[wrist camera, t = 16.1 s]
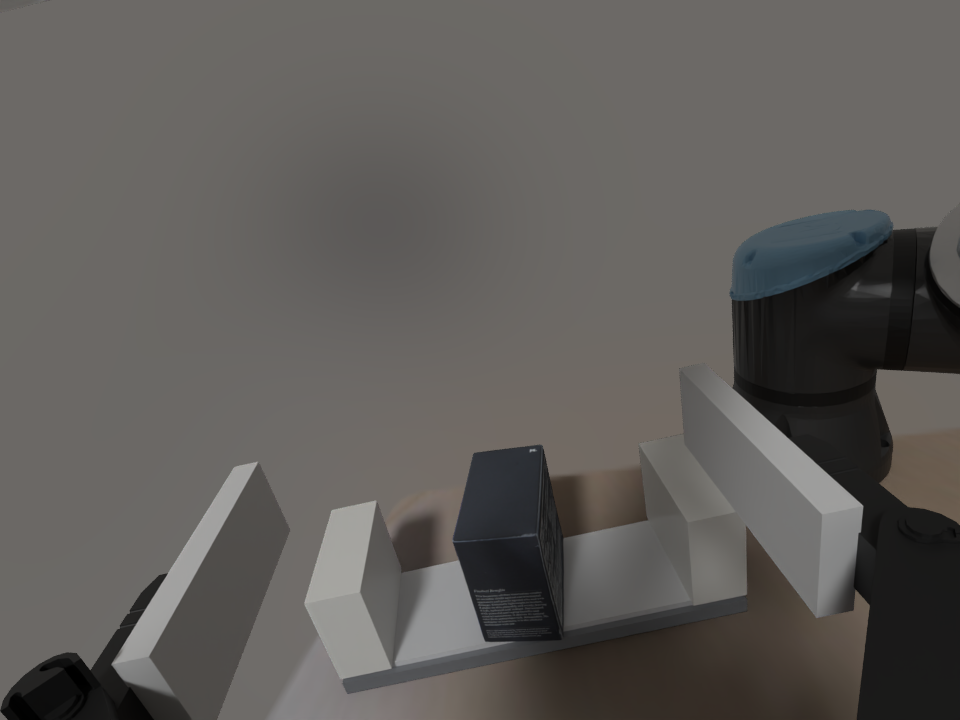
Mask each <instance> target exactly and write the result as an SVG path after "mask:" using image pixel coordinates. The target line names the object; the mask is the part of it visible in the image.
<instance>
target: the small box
mask: <svg viewBox="0 0 960 720" xmlns="http://www.w3.org/2000/svg"><path fill="white" fill-rule="evenodd" d="M452 541H453V544H454V547H455V550H456V553H457V556H458V559H459V562H460V566H461V569H462V571H463V575H464V578H465V581H466V584H467V587H468V590H469V593H470V597H471V600H472V603H473V606H474V609H475V612H476V615H477V618H478V622H479V625H480V628H481V632H482V635H483V638H484V640H485V642H520V641H558V640H562V639H563V638H564V633H563V631H564V552H563V534H562V531H561V526H560V523H559V518H558V515H557V510H556V506H555V501H554V497H553V492H552V487H551V482H550V477H549V473H548V468H547V464H546V458H545V454H544V449H543V446H542V445H534V446H527V447H517V448H509V449H502V450H494V451H486V452H477V453H474V454H473V457H472V462H471V466H470V470H469V474H468V478H467V483H466V487H465V491H464V495H463V499H462V503H461V507H460V511H459V515H458V519H457V523H456V527H455V532H454V535H453V539H452Z"/></svg>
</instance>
